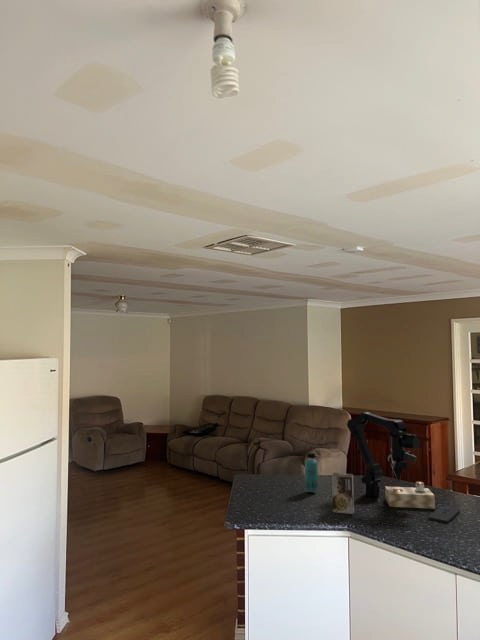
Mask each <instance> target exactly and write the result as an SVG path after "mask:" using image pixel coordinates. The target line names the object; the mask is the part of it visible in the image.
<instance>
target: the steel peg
mask: <svg viewBox="0 0 480 640" xmlns="http://www.w3.org/2000/svg"><path fill="white" fill-rule="evenodd" d="M415 488H416V492H421V493H424V488H425V483H424V482H423V481H415Z"/></svg>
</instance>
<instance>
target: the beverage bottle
mask: <svg viewBox="0 0 480 640" xmlns="http://www.w3.org/2000/svg"><path fill="white" fill-rule="evenodd" d="M306 458H308V459H306V460H305V461H304V463H305V464H304V467H305V468H304V469H305V470H304V490H305V491H307V492H316V491H318V461H317V460H316V459H315V458H316V453H314V452H308V453H307V457H306Z"/></svg>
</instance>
